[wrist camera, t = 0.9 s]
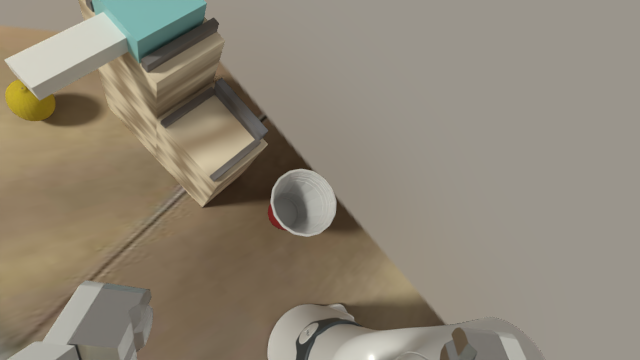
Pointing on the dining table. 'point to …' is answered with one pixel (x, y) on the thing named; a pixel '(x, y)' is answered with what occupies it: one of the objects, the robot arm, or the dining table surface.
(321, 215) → the plastic cup
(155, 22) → the plug
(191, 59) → the zigzag stepped block
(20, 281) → the dining table surface
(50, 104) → the lemon
